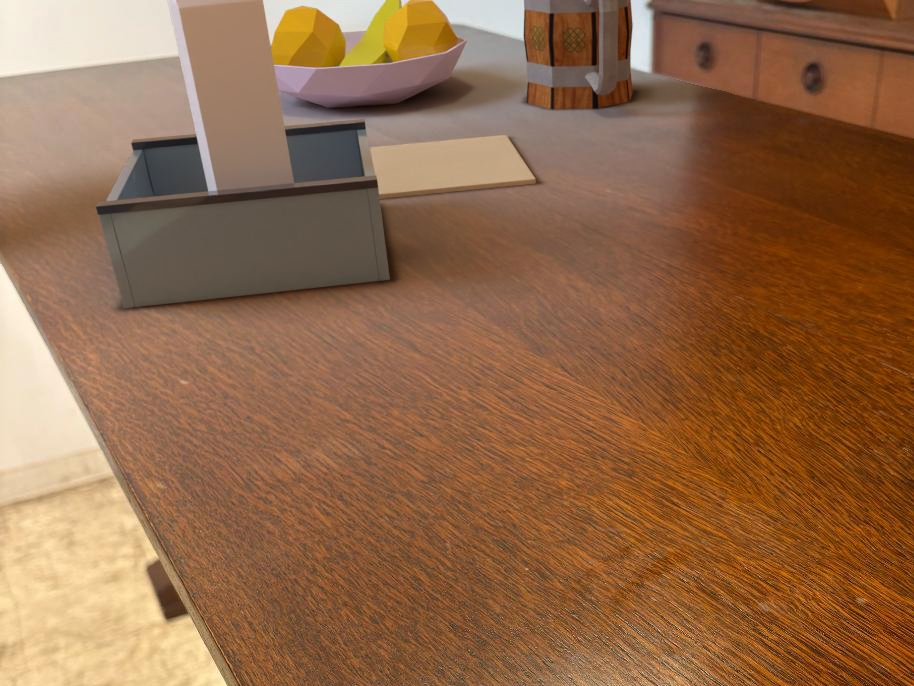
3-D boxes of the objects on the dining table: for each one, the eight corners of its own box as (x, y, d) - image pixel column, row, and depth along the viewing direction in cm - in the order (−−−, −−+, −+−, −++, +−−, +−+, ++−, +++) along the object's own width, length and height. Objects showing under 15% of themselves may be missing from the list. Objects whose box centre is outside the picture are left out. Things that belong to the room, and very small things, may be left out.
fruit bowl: (386, 128, 124) (373, 19, 118) (217, 110, 137) (197, 11, 130) (517, 79, 144) (512, -16, 137) (359, 67, 156) (347, -21, 150)
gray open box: (123, 310, 80) (95, 206, 76) (154, 228, 96) (132, 139, 92) (390, 281, 82) (377, 179, 78) (375, 206, 99) (364, 118, 94)
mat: (322, 205, 100) (321, 199, 99) (319, 156, 115) (318, 151, 114) (535, 184, 102) (535, 178, 102) (506, 139, 117) (506, 134, 117)
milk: (307, 257, 88) (256, -51, 76) (232, 270, 86) (167, -44, 74) (290, 236, 93) (239, -58, 80) (218, 248, 91) (155, -51, 78)
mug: (514, 92, 137) (506, -42, 128) (616, 82, 139) (615, -51, 131) (553, 126, 121) (547, -24, 113) (668, 114, 123) (671, -34, 115)
